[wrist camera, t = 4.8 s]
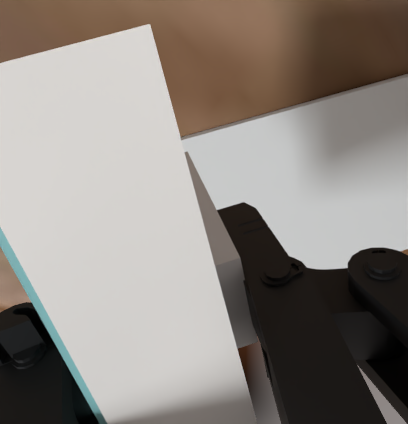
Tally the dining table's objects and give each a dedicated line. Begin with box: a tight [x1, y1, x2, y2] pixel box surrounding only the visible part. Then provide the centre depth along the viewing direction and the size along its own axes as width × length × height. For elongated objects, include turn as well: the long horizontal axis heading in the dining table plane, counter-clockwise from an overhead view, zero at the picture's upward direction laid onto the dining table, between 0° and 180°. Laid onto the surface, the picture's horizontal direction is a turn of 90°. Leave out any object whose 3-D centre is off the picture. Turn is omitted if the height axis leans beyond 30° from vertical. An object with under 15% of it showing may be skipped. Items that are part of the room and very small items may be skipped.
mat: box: [180, 74, 408, 269], centre depth 29 cm, size 15×20×1 cm
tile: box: [0, 24, 257, 424], centre depth 10 cm, size 12×2×9 cm, turn 13°
